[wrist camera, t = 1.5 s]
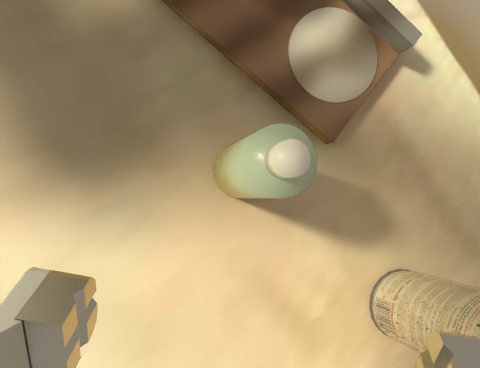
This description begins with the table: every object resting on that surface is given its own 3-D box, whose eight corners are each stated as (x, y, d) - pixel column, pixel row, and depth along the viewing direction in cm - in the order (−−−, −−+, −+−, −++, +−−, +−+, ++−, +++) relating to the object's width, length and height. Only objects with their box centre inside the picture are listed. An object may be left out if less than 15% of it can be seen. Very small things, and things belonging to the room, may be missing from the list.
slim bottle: (202, 175, 40) (237, 163, 27) (235, 133, 41) (285, 101, 28) (244, 209, 41) (298, 214, 28) (276, 167, 42) (344, 152, 29)
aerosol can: (396, 352, 44) (600, 472, 25) (356, 300, 44) (535, 383, 24) (442, 306, 46) (669, 386, 26) (404, 255, 45) (611, 298, 26)
